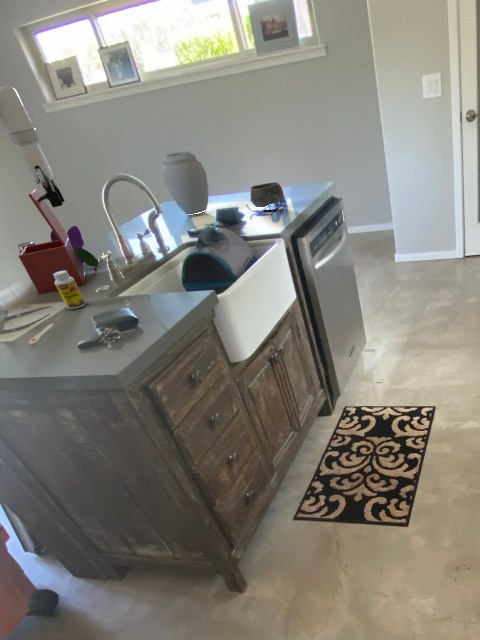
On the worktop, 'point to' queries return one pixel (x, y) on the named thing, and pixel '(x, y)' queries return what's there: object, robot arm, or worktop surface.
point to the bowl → (266, 194)
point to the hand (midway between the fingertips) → (58, 203)
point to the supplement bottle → (68, 290)
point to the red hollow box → (51, 264)
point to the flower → (78, 246)
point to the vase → (186, 182)
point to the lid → (48, 215)
